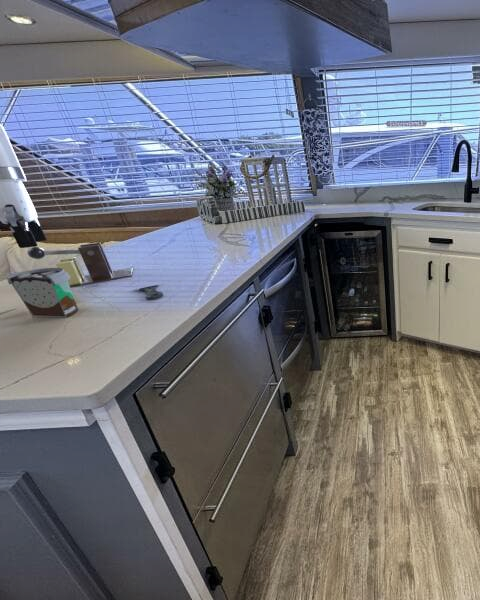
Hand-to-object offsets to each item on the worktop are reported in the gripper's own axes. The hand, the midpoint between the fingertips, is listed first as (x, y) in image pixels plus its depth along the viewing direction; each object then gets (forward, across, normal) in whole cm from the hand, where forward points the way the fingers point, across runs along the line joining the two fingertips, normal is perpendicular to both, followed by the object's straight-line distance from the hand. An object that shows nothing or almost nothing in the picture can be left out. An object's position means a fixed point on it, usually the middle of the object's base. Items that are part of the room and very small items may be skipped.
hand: (34, 244), depth 86 cm
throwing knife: (+13, +20, +22) cm, 32 cm away
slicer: (+13, 0, +11) cm, 17 cm away
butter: (+12, 0, +5) cm, 12 cm away
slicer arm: (+5, 0, +5) cm, 7 cm away
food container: (+13, +24, +5) cm, 28 cm away
